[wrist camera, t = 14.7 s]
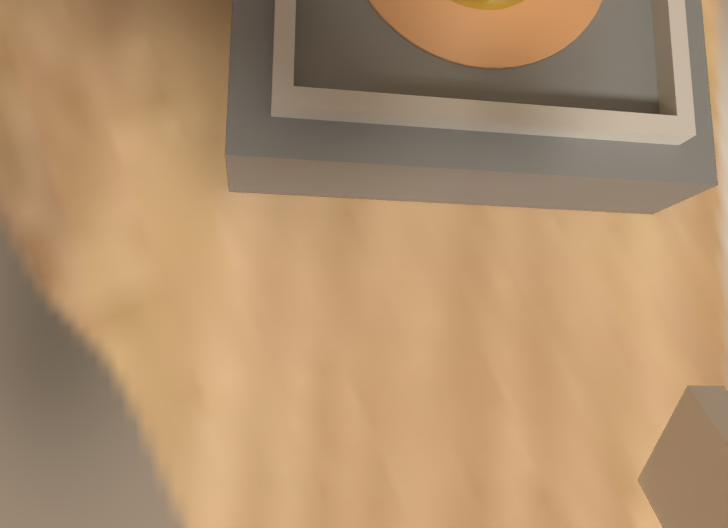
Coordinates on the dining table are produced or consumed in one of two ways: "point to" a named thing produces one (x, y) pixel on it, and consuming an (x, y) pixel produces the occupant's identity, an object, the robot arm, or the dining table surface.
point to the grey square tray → (472, 102)
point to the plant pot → (488, 4)
